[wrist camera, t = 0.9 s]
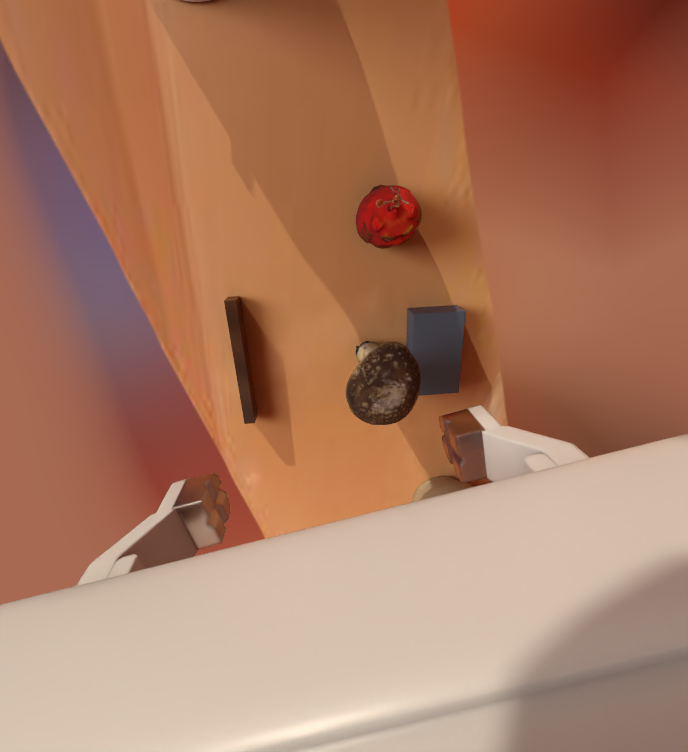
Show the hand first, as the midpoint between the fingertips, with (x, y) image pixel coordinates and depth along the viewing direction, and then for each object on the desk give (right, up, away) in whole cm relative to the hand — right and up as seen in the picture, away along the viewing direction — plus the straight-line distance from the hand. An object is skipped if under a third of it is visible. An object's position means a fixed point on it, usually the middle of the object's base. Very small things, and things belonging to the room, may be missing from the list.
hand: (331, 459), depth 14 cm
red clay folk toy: (+5, +23, +35) cm, 42 cm away
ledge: (-14, +5, +41) cm, 43 cm away
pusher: (+13, +7, +42) cm, 45 cm away
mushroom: (+4, +7, +42) cm, 43 cm away
